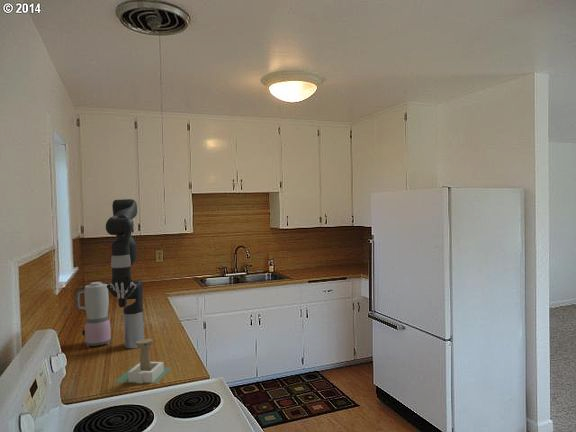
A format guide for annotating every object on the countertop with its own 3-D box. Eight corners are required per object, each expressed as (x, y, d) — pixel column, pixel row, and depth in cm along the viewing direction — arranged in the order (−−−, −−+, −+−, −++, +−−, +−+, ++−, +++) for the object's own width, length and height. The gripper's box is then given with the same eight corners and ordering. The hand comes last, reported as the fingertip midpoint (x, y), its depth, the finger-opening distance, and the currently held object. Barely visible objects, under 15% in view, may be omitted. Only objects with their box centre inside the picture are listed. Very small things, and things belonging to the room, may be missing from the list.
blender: (112, 338, 225) (109, 279, 224) (111, 345, 213) (108, 283, 213) (79, 342, 219) (77, 282, 218) (76, 350, 208) (74, 286, 207)
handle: (154, 377, 170) (153, 341, 169) (138, 381, 167) (137, 344, 166) (152, 373, 174) (151, 338, 173) (136, 376, 171) (135, 340, 171)
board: (133, 368, 182) (133, 366, 182) (172, 369, 180) (172, 366, 180) (113, 384, 167) (113, 381, 167) (156, 385, 165) (156, 382, 164)
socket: (141, 370, 177) (141, 361, 177) (163, 371, 176) (163, 362, 176) (127, 382, 165) (126, 373, 165) (151, 383, 164) (151, 373, 164)
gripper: (140, 264, 177) (141, 304, 178) (111, 264, 179) (112, 304, 179) (131, 267, 170) (133, 309, 170) (101, 267, 171) (102, 309, 172)
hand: (122, 306), depth 175 cm, fingers closed
